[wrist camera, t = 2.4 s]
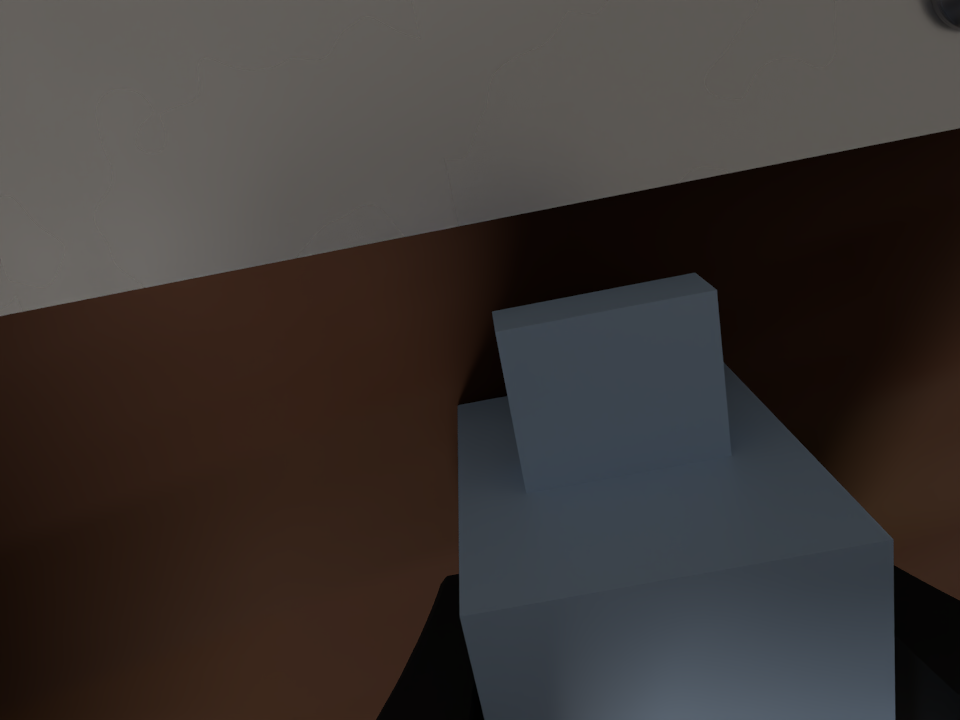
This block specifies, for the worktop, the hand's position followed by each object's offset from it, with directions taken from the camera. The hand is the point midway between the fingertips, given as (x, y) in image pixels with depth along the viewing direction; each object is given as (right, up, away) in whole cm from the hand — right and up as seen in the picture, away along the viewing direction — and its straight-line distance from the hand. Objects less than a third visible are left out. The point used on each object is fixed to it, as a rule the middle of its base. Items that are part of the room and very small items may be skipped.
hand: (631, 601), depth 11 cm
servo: (0, 0, +1) cm, 1 cm away
